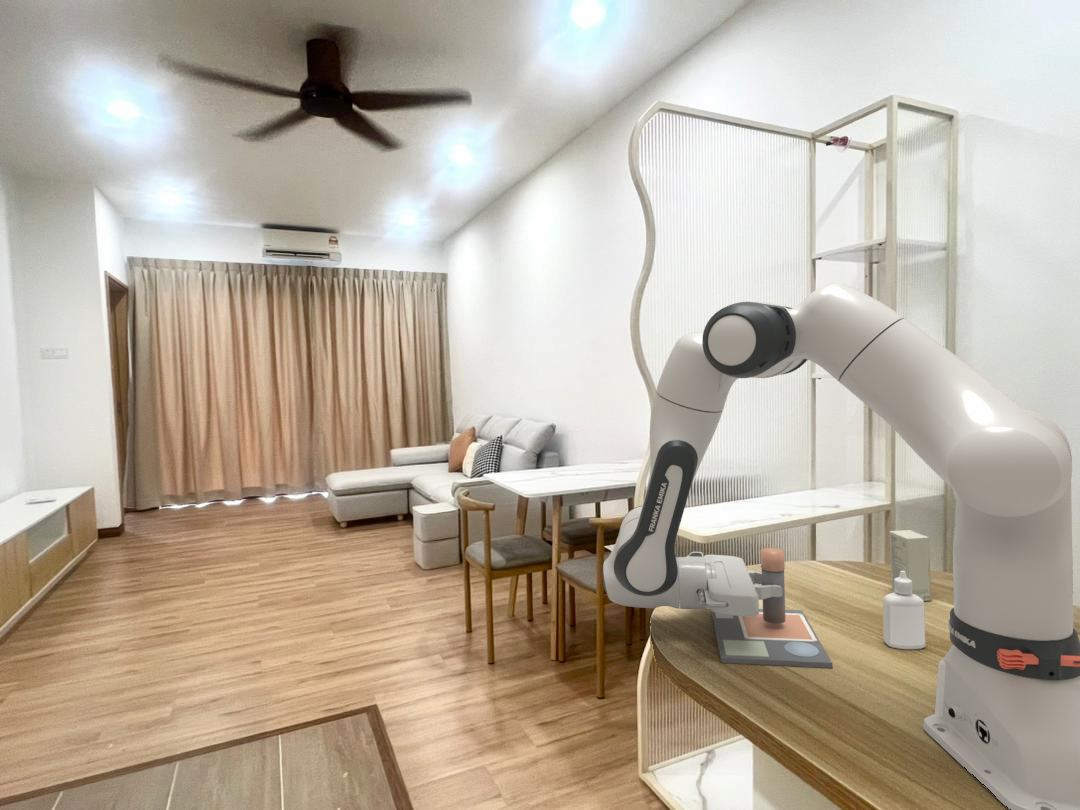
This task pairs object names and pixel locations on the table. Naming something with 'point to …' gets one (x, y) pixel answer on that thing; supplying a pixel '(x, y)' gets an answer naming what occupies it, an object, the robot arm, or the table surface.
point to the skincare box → (911, 560)
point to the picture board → (769, 641)
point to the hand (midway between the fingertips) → (778, 585)
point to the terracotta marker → (773, 574)
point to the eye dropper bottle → (904, 616)
